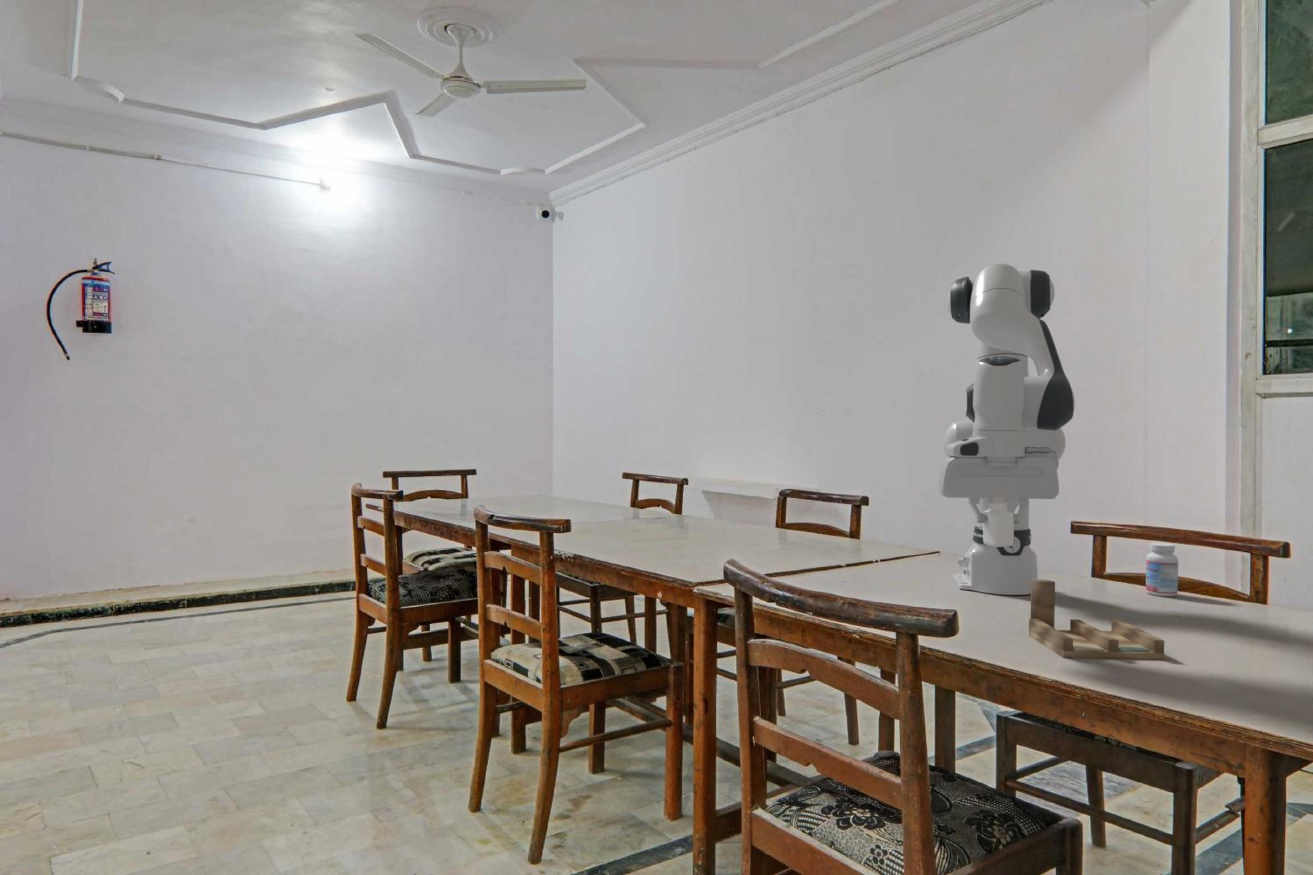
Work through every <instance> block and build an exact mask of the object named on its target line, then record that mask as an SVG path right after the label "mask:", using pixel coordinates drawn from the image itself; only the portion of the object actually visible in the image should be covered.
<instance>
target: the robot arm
mask: <svg viewBox="0 0 1313 875" xmlns="http://www.w3.org/2000/svg"><path fill="white" fill-rule="evenodd" d="M1050 277H1051V276H1050V275H1049V273H1048V272H1046V271H1044V270H1038V269H1036V270H1035V269H1030V270H1027V271H1026V270H1018V269H1017V268H1015V267H1014V266H1012V265H1010V264H1007V263H1000V262H999V263H994V264H989V265H988V266H986V267H984V268H983V269H982V270H980V272H979V273H978V274H977V275H975V276H971V277H969V276H965V277H960V278H959V279H955V281H953V282H952V283H951V285H950V288H949V290H948V293H947V296H946V305H947V309H948V312H949V314H950V316H951V319H953V320H954V322H956V323H959V324H968V325H970V326H971V330H972V333H973V334H974V336H975V337H976V339H977V340H976V348H975V349H976V350H975V351H976V352H975V354H976V355H975V368H976V369H975V375H974V381H973V383H971V384H970V385H969V386H968V387H967V388H966V390H965V391H966V412H965V416H966V417H967V418H968V419H962V420H958V421H953V422H952V423H951V424H950V425H949V426H948V428H947V429H946V431H945V433H944V435H943V449H944V453H945V454H946V456H947V457H946V458H944V459H943V460H942V463H941V466H940V470H939V478H938V492H939V493H940V495H941V496H942V497H943V498H955V499H956V498H957V499H965V498H966V499H968V505H969V506H970V508H971V510H972V512H973V513H974V523H976V525H975V526H974V529H973V531H972V532H973V533H972V541H973V543H972V544H971V546H970V547H969V548H968V550H967V551H966V553H965V554H964V555H963V557H958V559H957V564H958V568H962V572H959V573H953V575H952V578H953V580H954V582H955V584H956V585H957V587H958V589H960V590H961V589H962V590H966V591H967V590H969V591H975V592H980V593H987V594H994V595H1007V596H1009V595H1010V596H1015V595H1016V596H1019V595H1020V596H1021V595H1031V580H1035V579H1039V574H1038V571H1039V570H1038V558H1037V553H1036V552H1035V551H1034V550H1032V548H1031V547H1030V545H1031V543H1032V540H1031V539H1032V534H1031V532H1032V531H1031V530H1032V529H1031V528H1029V526H1030V520H1029V519H1030V499H1031V500H1032V499H1033V500H1054V499H1056V498H1057V496H1058V495H1059V494H1060V488H1059V487H1060V484H1059V475H1058V468H1059V466H1060V464H1059V463H1060V462H1059V461H1060V459H1061V457H1062V456H1063V454H1064V453H1065V450H1066V436H1065V433H1064V430H1063V429H1062V428H1063V427H1064V426H1066V425H1067V424H1068V423H1069V422H1070V421H1071V420H1072V419H1073V418H1074V413H1075V407H1076V399H1075V394H1074V391H1073V388H1072V386H1071V383H1070V381H1069V379H1068V377H1067V375H1066V373H1065V371H1064V368H1063V366H1062V363H1061V359H1060V356H1059V354H1058V351H1057V347H1056V345H1055V341H1054V338H1053V336H1052V334H1051V331H1050V329H1049V326H1048V324H1047V323H1046V321H1045V320H1043V319H1042V318H1044V317H1045V316H1046V315H1047V314H1048V313H1049V312H1050V310H1051V307H1052V305H1053V302H1054V300H1055V286H1054V283H1053V281H1052V279H1051V278H1050ZM1029 359H1031V360H1032V361H1033V364H1034V366H1035V370H1036V373H1037V376H1029V361H1028V360H1029ZM998 497H1003V498H1008V504H1007V510H1009V511H1011V512H1013V514H1014V544H1013V545H1012V546H1005V547H994V546H990V545H986V544H984V542H983V523H985V522H986V520H985V518H986V514H985V513H983V512H984V511H986V510H989V503H988V500H989V499H988V498H998Z"/></svg>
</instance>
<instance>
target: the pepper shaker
mask: <svg viewBox="0 0 1313 875" xmlns="http://www.w3.org/2000/svg"><path fill="white" fill-rule="evenodd" d="M988 499H989V500H988V503H989V510H986V511H984V512H983V513H985V514H986V518H985V520H986V522H985V523H983V542H984V544H986V545H990V546H994V547H1005V546H1012V545H1013V544H1014V514H1013V512H1011V511H1009V510H1007V504H1008V498H1003V497H998V498H988Z"/></svg>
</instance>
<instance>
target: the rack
mask: <svg viewBox="0 0 1313 875" xmlns="http://www.w3.org/2000/svg"><path fill="white" fill-rule="evenodd" d="M1069 620H1070V621H1069V622H1070V623H1069V630H1067V629H1065V630H1064V629H1058V630H1057V629H1056V628H1055V627H1054V628H1053V627H1051V626H1049V625H1048V624H1046V623H1044V622H1042V621H1041V620H1039V619H1031V618H1029V619H1028V636H1029V637H1031V638H1032V637H1033V638H1032V639H1034V640H1035V639H1036V640H1035V641H1036V642H1039V643H1040V644H1042V645H1044V646H1045V647H1047V648H1048V649H1050V650H1051V651H1053V652H1054V653H1056V654H1058V655H1059V656H1060V657H1062V658H1069V657H1071V658H1073V659H1075V658H1076V659H1077V658H1080V659H1081V658H1082V659H1083V658H1085V659H1134V660H1135V659H1137V660H1139V659H1141V660H1144V659H1146V660H1164V659H1165V640H1163V639H1162V638H1159V637H1158V636H1155V635H1153V634H1151V633H1149V632H1147V631H1144V630H1142V629H1140V628H1139V627H1136V626H1134V625H1132V624H1130V623H1128V622H1126V621H1123V620H1121V619H1111V630H1100V629H1098V628H1097V627H1094V626H1092V625H1091V624H1089V623H1087V622H1084V621H1083V620H1082V619H1081V620H1080V619H1078V618H1077V619H1075V618H1074V619H1073V618H1071V619H1069Z"/></svg>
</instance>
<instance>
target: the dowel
mask: <svg viewBox="0 0 1313 875" xmlns="http://www.w3.org/2000/svg"><path fill="white" fill-rule="evenodd" d="M1055 599H1056V581H1053V580H1049V579H1039V578H1038V579H1035V580H1031V594H1030V619H1039V620H1041V621H1042V622H1044V623H1046V624H1048V625H1049V626H1051V627H1053V628H1054V629H1055V607H1056V600H1055Z"/></svg>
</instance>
